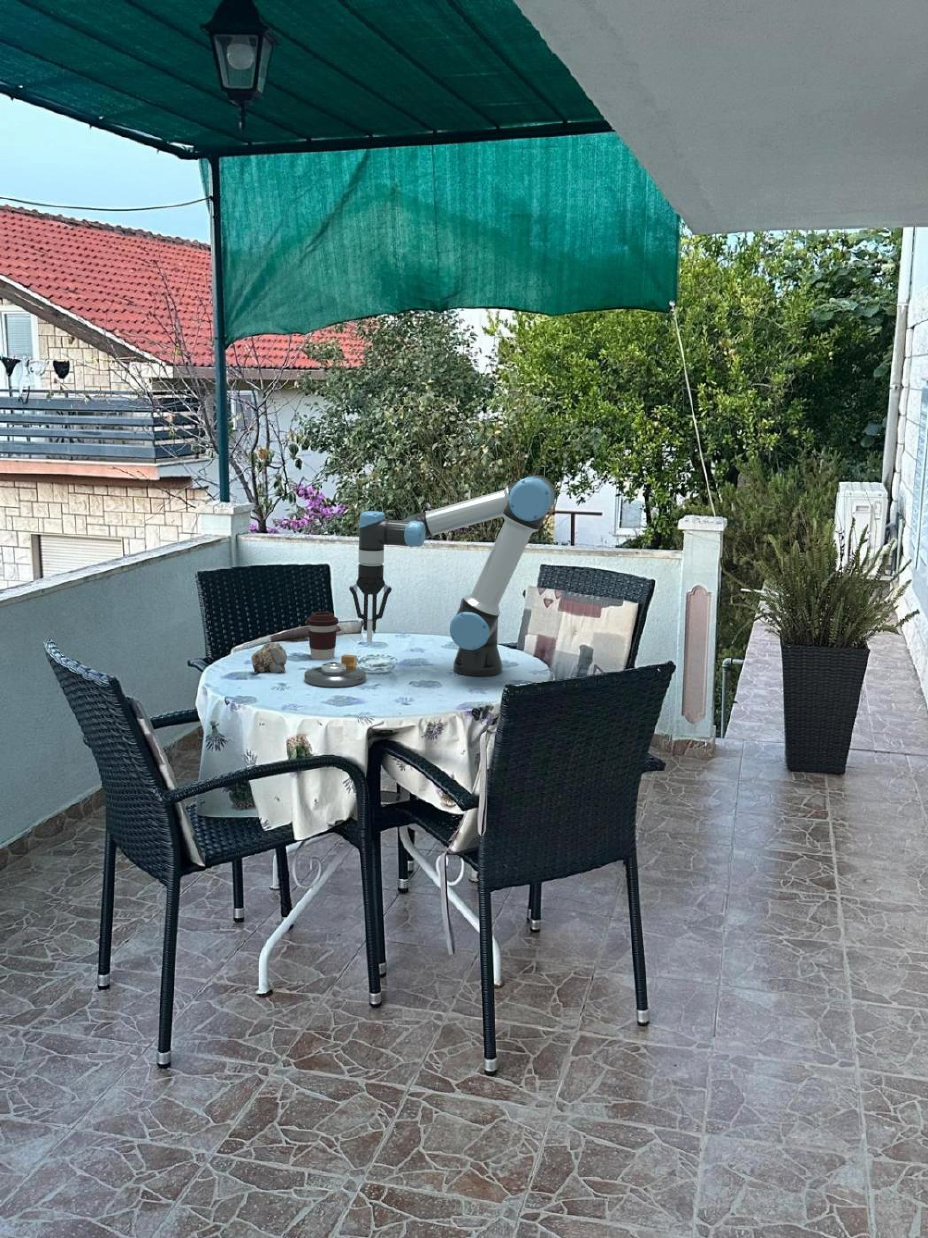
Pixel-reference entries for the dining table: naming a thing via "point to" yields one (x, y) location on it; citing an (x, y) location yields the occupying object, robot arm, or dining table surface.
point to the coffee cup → (322, 635)
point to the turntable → (347, 680)
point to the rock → (269, 658)
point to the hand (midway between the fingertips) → (369, 640)
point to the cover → (333, 669)
